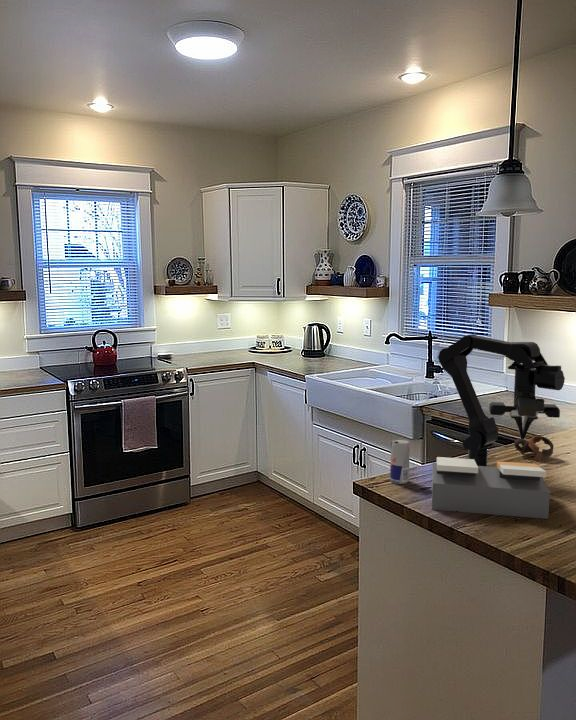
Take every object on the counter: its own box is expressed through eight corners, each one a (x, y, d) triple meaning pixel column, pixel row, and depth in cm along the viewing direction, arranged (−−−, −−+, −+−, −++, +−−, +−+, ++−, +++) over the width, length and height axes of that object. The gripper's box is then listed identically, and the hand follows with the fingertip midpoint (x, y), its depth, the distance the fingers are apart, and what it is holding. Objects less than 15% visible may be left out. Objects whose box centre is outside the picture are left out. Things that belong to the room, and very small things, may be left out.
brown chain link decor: (545, 454, 215) (555, 437, 210) (546, 474, 207) (557, 456, 202) (509, 444, 216) (518, 426, 211) (510, 463, 209) (519, 445, 204)
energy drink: (388, 478, 188) (389, 438, 187) (406, 478, 189) (407, 438, 187) (392, 484, 183) (393, 443, 181) (410, 484, 183) (412, 443, 182)
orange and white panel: (496, 466, 175) (496, 461, 175) (535, 469, 173) (535, 463, 173) (503, 474, 160) (503, 468, 160) (545, 477, 158) (545, 471, 158)
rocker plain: (436, 461, 179) (436, 456, 179) (473, 464, 177) (473, 459, 177) (437, 470, 163) (437, 465, 163) (478, 473, 161) (478, 467, 161)
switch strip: (432, 486, 181) (433, 457, 180) (537, 494, 175) (538, 464, 174) (431, 509, 164) (433, 477, 163) (548, 518, 158) (550, 485, 157)
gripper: (493, 389, 179) (491, 444, 181) (565, 392, 175) (562, 447, 177) (490, 383, 190) (488, 434, 192) (557, 385, 186) (554, 437, 188)
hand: (522, 438), depth 187 cm, fingers closed
